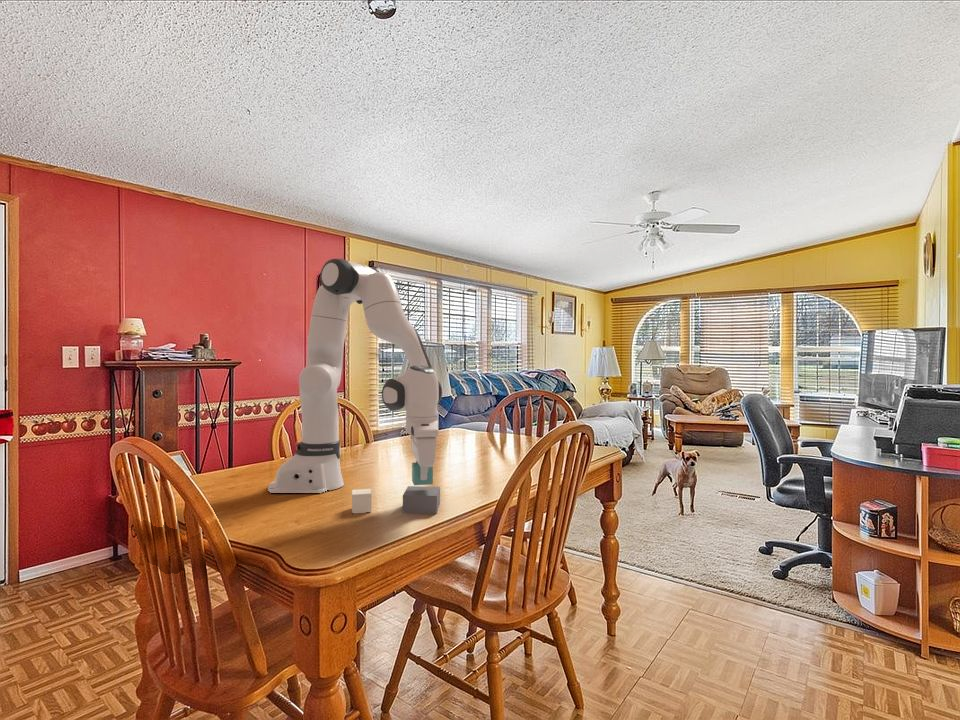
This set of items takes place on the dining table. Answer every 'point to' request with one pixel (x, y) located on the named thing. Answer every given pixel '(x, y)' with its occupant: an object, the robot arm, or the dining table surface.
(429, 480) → the teal cube
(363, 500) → the cream cube
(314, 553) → the dining table surface
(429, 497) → the charcoal base block
